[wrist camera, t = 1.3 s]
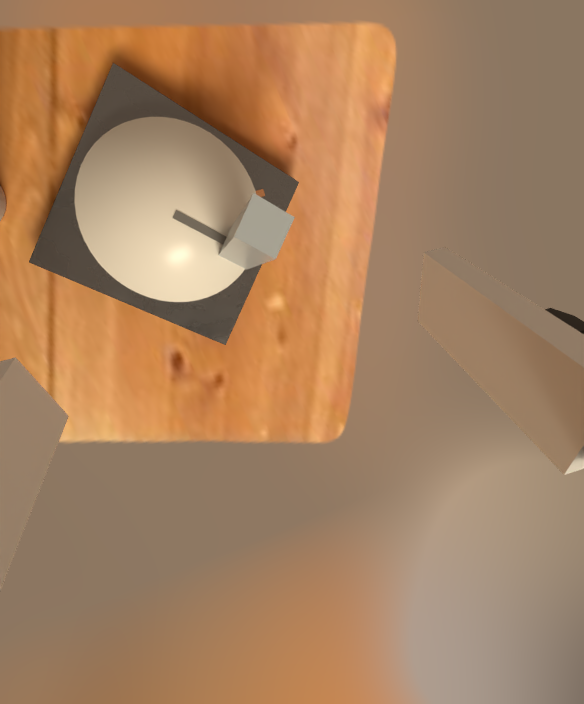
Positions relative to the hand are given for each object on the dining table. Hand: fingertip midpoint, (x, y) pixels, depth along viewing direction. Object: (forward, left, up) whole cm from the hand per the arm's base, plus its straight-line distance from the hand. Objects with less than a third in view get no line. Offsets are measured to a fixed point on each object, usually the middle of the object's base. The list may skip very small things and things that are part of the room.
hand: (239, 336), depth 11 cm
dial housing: (-6, +7, -28) cm, 30 cm away
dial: (-6, +7, -25) cm, 27 cm away
